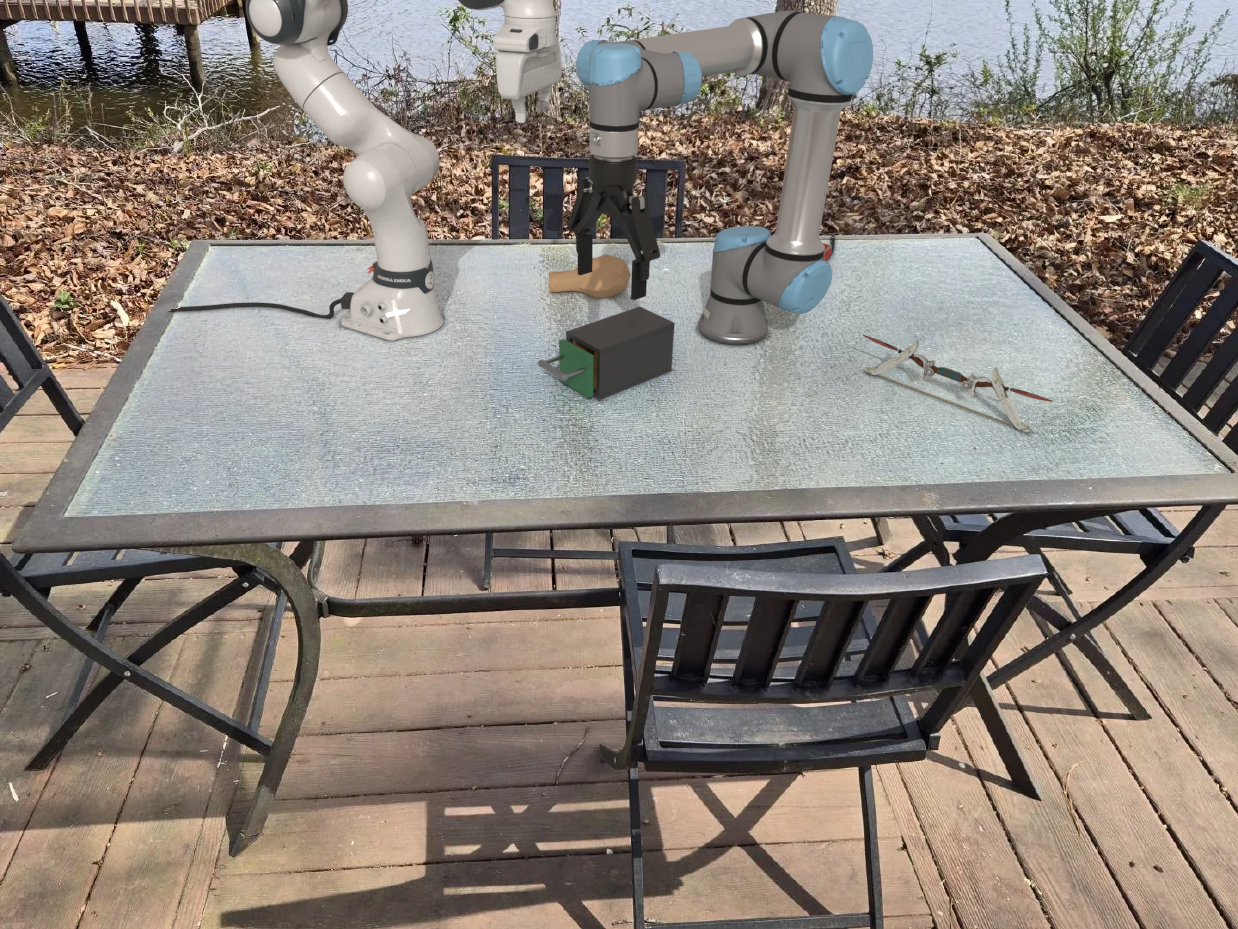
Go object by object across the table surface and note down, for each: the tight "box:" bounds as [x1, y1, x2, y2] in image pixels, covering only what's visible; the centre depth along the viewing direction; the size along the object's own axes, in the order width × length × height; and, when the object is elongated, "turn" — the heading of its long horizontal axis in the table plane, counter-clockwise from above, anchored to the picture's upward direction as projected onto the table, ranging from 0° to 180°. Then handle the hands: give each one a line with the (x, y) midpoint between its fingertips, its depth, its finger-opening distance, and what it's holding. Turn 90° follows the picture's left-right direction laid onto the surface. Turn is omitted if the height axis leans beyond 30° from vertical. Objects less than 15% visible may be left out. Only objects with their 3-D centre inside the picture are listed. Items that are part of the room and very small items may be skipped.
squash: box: [547, 253, 632, 299], centre depth 210 cm, size 11×20×9 cm, turn 90°
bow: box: [862, 334, 1055, 433], centre depth 169 cm, size 39×2×10 cm, turn 47°
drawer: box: [537, 338, 597, 399], centre depth 171 cm, size 24×9×9 cm, turn 131°
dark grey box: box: [565, 306, 675, 401], centre depth 175 cm, size 19×10×11 cm, turn 131°
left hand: (532, 116), depth 161 cm, fingers open, 8 cm apart
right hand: (611, 285), depth 147 cm, fingers open, 13 cm apart
